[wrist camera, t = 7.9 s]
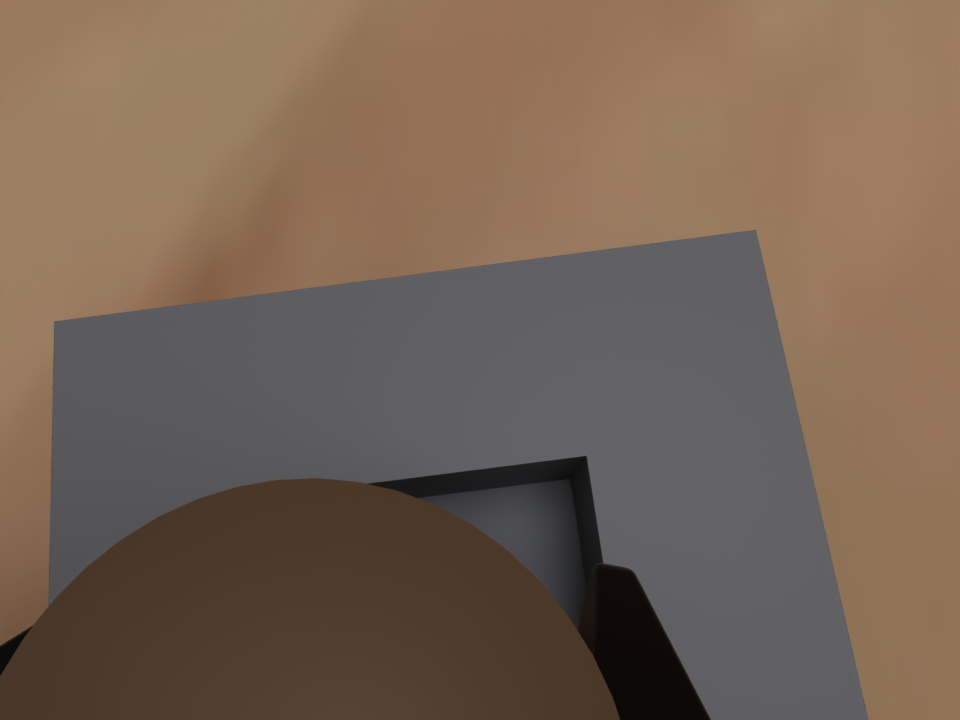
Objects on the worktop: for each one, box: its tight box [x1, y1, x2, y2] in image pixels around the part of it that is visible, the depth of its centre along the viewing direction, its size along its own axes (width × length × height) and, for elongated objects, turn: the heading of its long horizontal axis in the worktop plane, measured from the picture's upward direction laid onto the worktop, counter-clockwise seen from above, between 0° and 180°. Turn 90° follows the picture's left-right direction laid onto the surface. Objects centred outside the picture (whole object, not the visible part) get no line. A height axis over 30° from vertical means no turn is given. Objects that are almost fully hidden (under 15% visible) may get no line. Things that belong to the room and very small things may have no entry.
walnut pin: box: [0, 478, 620, 720], centre depth 9 cm, size 4×4×11 cm
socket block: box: [49, 230, 868, 720], centre depth 14 cm, size 12×12×4 cm
